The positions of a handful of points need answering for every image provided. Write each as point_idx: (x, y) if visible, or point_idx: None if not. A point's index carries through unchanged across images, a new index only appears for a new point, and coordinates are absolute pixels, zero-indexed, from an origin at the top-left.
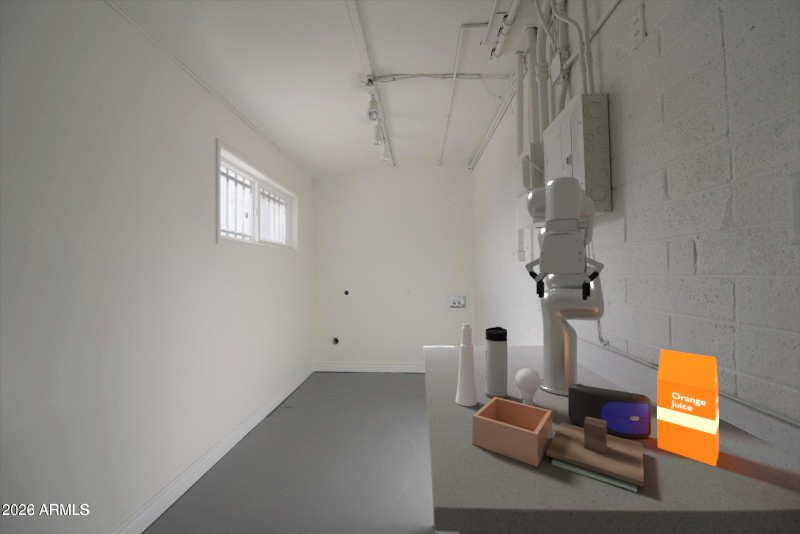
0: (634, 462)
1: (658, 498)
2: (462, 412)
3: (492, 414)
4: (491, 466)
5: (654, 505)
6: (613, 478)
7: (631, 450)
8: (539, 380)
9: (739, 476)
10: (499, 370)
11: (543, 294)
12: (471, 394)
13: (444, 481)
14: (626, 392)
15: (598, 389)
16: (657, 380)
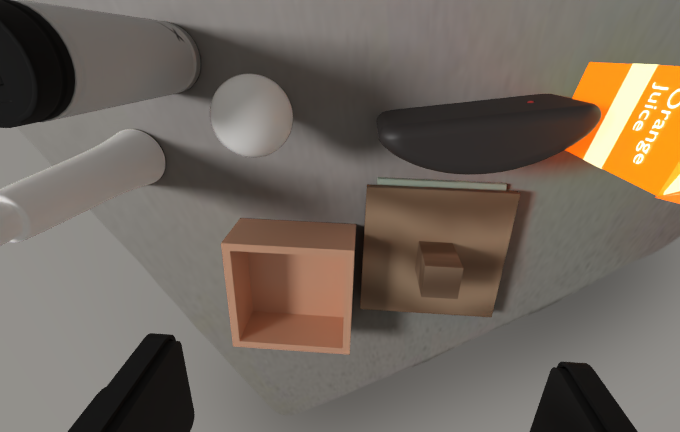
0: (489, 272)
1: (502, 306)
2: (167, 215)
3: (241, 259)
4: None
5: (493, 322)
6: None
7: (493, 234)
8: (290, 124)
9: None
10: (144, 96)
11: (173, 388)
12: (144, 180)
13: (264, 393)
14: (543, 128)
15: (464, 150)
16: (651, 192)
